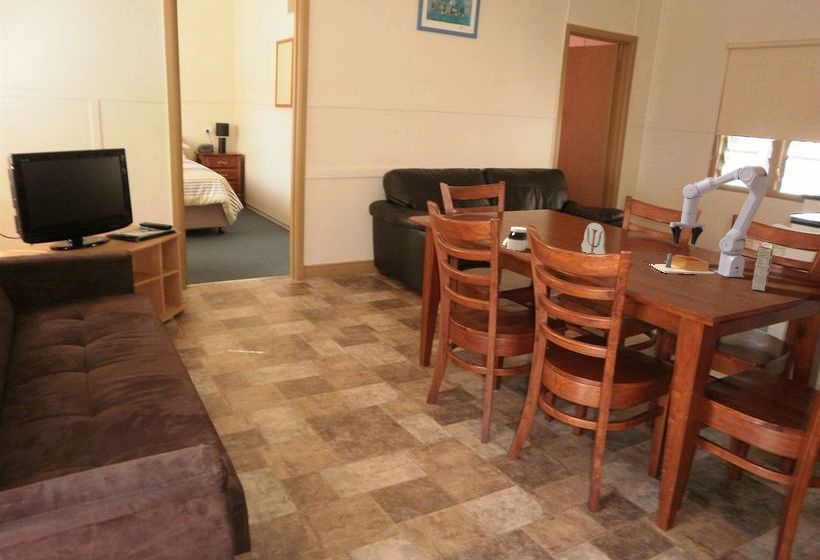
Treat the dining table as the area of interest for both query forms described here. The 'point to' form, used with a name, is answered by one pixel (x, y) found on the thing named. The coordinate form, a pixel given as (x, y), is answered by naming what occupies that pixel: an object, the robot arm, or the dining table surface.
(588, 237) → the ornament
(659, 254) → the dining table surface
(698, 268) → the wooden link
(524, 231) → the spread jar
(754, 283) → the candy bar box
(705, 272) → the board
